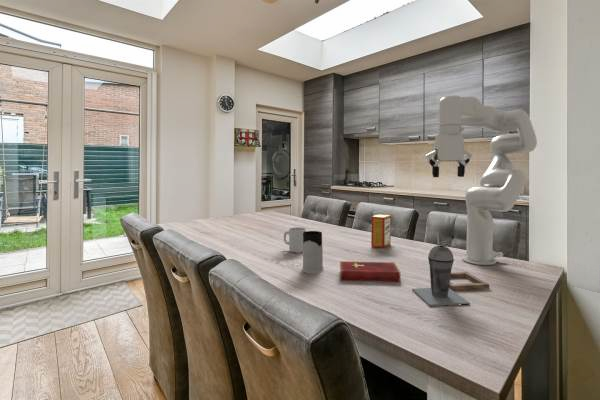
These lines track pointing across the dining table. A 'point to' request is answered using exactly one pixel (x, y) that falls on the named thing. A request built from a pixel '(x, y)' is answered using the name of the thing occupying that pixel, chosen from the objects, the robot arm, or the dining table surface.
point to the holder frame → (475, 285)
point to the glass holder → (312, 252)
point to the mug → (295, 239)
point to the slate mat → (435, 301)
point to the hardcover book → (369, 271)
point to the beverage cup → (440, 269)
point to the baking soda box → (381, 231)
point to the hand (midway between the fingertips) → (448, 176)
